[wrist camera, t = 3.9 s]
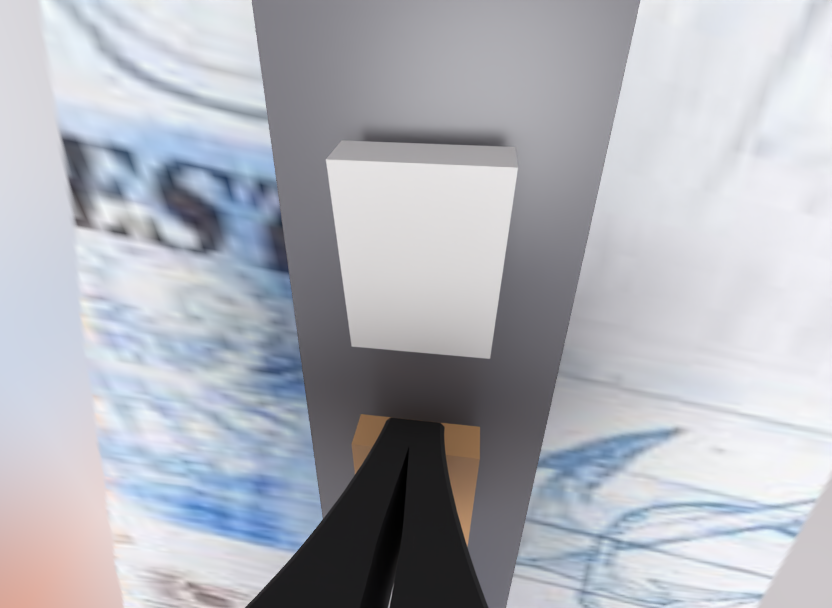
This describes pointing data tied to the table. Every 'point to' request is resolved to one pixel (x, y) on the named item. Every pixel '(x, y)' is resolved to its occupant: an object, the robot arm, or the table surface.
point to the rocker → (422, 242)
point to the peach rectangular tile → (459, 456)
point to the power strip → (529, 225)
